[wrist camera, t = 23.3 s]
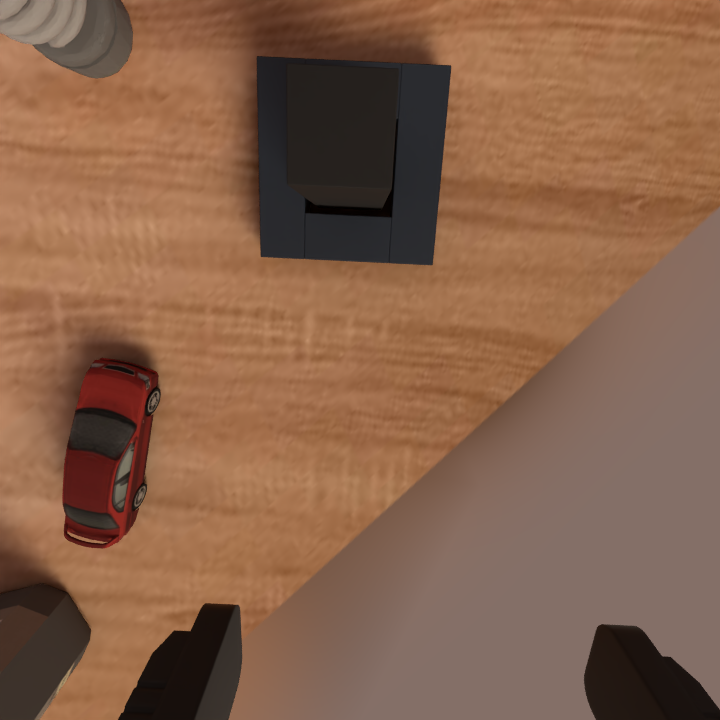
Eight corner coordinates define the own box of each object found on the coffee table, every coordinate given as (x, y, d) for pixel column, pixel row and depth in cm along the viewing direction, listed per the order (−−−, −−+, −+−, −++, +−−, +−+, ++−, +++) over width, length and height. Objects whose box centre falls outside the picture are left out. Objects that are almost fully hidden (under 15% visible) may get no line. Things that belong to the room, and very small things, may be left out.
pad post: (385, 139, 28) (399, 67, 16) (381, 210, 29) (391, 189, 18) (318, 136, 28) (286, 62, 16) (317, 207, 29) (286, 184, 18)
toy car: (81, 502, 36) (38, 542, 32) (107, 349, 32) (63, 368, 28) (142, 520, 37) (108, 561, 32) (175, 371, 33) (143, 393, 28)
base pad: (443, 80, 27) (451, 65, 25) (427, 263, 30) (432, 265, 28) (266, 72, 27) (256, 55, 25) (268, 255, 30) (260, 256, 28)
